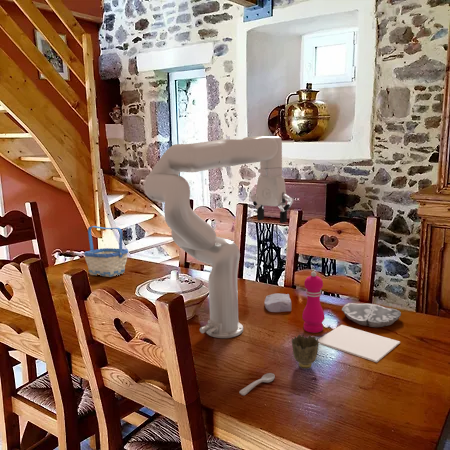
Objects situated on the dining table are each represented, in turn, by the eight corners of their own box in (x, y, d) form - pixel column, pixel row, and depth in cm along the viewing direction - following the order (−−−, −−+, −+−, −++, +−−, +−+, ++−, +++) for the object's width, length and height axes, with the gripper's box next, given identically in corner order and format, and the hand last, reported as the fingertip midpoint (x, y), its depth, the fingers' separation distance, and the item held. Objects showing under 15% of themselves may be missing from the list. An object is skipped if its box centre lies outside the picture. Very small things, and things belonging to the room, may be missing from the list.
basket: (134, 272, 222) (131, 225, 217) (110, 282, 208) (106, 232, 203) (104, 267, 232) (100, 222, 228) (79, 276, 218) (74, 228, 214)
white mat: (376, 362, 128) (376, 360, 128) (315, 342, 141) (315, 340, 141) (400, 343, 139) (400, 341, 139) (341, 326, 153) (341, 324, 153)
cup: (320, 362, 129) (320, 336, 127) (316, 375, 122) (317, 347, 120) (294, 358, 131) (294, 333, 130) (289, 371, 124) (289, 344, 123)
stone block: (267, 317, 167) (293, 311, 166) (264, 305, 166) (291, 299, 166) (265, 306, 179) (290, 301, 178) (262, 295, 178) (287, 289, 177)
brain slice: (336, 325, 154) (337, 317, 153) (346, 308, 169) (346, 300, 168) (398, 334, 146) (398, 326, 145) (402, 315, 161) (402, 307, 160)
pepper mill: (319, 335, 146) (320, 276, 142) (298, 330, 150) (299, 273, 146) (327, 327, 152) (328, 270, 148) (307, 323, 156) (307, 267, 152)
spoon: (277, 379, 121) (277, 373, 120) (245, 400, 113) (244, 393, 113) (269, 375, 123) (269, 369, 123) (237, 395, 116) (236, 388, 115)
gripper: (244, 172, 159) (246, 220, 163) (286, 174, 148) (286, 225, 152) (257, 171, 165) (258, 217, 168) (298, 172, 154) (298, 221, 157)
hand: (271, 221), depth 160 cm, fingers open, 9 cm apart
